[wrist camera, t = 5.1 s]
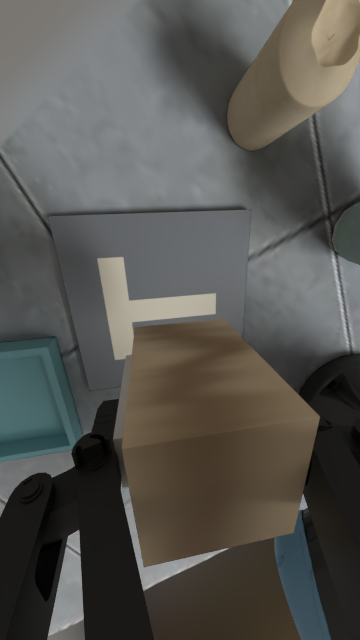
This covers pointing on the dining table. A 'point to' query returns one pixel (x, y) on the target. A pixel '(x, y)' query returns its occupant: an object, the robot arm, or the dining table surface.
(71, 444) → the tray
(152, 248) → the board
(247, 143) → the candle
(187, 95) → the dining table surface
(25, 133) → the dining table surface
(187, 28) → the dining table surface
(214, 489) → the wooden block
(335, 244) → the disposable coffee cup
